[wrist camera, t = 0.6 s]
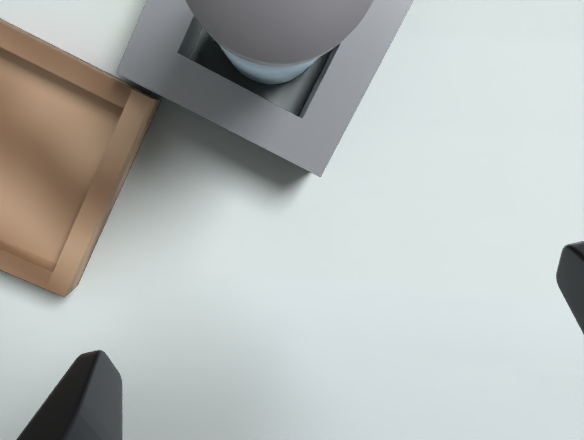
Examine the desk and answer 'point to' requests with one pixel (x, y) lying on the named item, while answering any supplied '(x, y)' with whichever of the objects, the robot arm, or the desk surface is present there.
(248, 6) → the ball
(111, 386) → the robot arm
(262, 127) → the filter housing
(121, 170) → the tray
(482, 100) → the desk surface
